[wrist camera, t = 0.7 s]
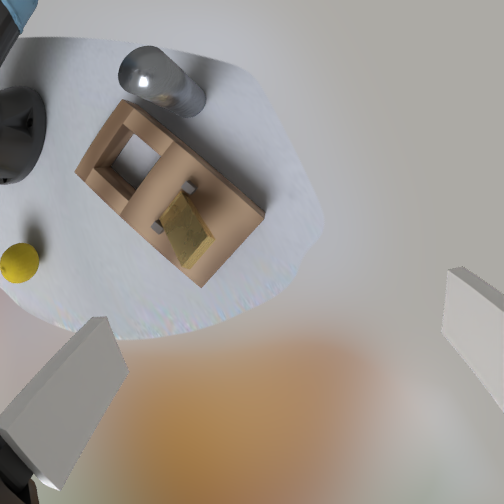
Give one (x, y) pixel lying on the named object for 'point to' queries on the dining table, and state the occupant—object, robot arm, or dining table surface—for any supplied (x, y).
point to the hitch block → (168, 189)
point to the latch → (186, 230)
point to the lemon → (19, 263)
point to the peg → (160, 82)
